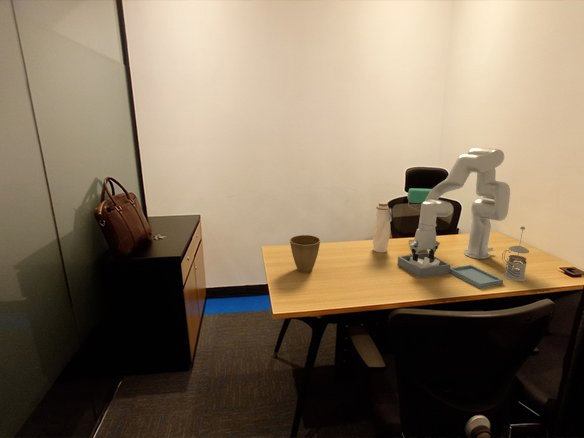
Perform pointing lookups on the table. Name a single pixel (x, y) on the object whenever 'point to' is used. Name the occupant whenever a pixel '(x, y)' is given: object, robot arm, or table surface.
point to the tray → (476, 276)
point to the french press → (516, 263)
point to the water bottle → (382, 228)
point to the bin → (423, 272)
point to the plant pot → (305, 251)
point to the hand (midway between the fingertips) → (423, 259)
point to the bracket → (424, 262)
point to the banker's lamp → (417, 197)
